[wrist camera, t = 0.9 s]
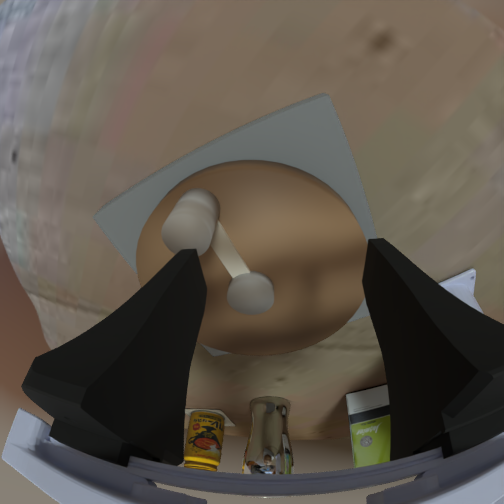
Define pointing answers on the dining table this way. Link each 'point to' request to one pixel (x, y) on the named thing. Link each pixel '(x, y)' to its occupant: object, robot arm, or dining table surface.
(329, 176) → the base plate
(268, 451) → the beer glass
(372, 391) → the tea box
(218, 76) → the dining table surface
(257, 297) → the handwheel
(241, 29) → the dining table surface
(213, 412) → the condiment
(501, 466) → the robot arm
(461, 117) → the dining table surface
